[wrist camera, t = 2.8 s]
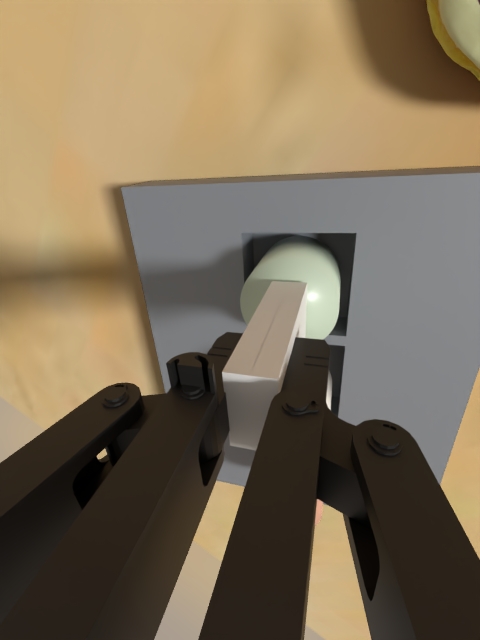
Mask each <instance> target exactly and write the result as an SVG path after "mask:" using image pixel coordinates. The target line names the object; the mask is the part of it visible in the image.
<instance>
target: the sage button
mask: <svg viewBox="0 0 480 640" xmlns="http://www.w3.org/2000/svg"><path fill="white" fill-rule="evenodd" d="M272 281H281V282H304V283H307V305H306V335H305V338H310V339H321V340H323V339H324V338H326V337H327V336H328V335H329V334H330V332H331V331H332V330H333V328H334V326H335V324H336V322H337V319H338V314H339V303H340V285H341V269H340V265H339V261H338V259H337V257H336V256H335V254H334V252H333V251H332V250H331V249H330V248H329V247H328V246H327V245H326V244H324V243H323V242H321V241H319V240H317V239H315V238H312V237H307V236H292V237H288V238H285V239H282V240H280V241H278V242H277V243H275V244H274V245H273V246H272V247H271V248H270V249H269V250H268V251H267V252H266V254H265V255H264V256H263V258H262V259H261V261H260V262H259V263H258V265H257V266H256V268H255V269H254V270H253V272H252V273H251V274H250V276H249V277H248V279H247V280H246V282H245V284H244V286H243V288H242V292H241V297H240V307H241V312H242V316H243V318H244V320H245V322H246V324H247V326H248V324H249V322H250V320H251V318H252V317H253V315H254V313H255V311H256V309H257V308H258V306H259V304H260V302H261V300H262V298H263V297H264V295H265V293H266V291H267V289H268V288H269V286H270V284H271V282H272Z"/></svg>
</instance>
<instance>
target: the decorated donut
mask: <svg viewBox="0 0 480 640" xmlns="http://www.w3.org/2000/svg"><path fill="white" fill-rule="evenodd" d="M426 2H427V10H428V13H429V16H430V22H431V27H432V30H433V33H434V35H435V37H436V38H437V40H438V41H439V43H440V44H441V46H442V48H443V49H444V51H445V52H446V54H447V55H448V56H449V57H450V58H451V59H452V60H453V61H454V62H456V63H458V64H459V65H460V66H462V67H464V68H466V69H467V70H470V71H471V72H472V73H473V74H474V75H475V76H476V77H477V79H478V80H479V81H480V0H426Z"/></svg>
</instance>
